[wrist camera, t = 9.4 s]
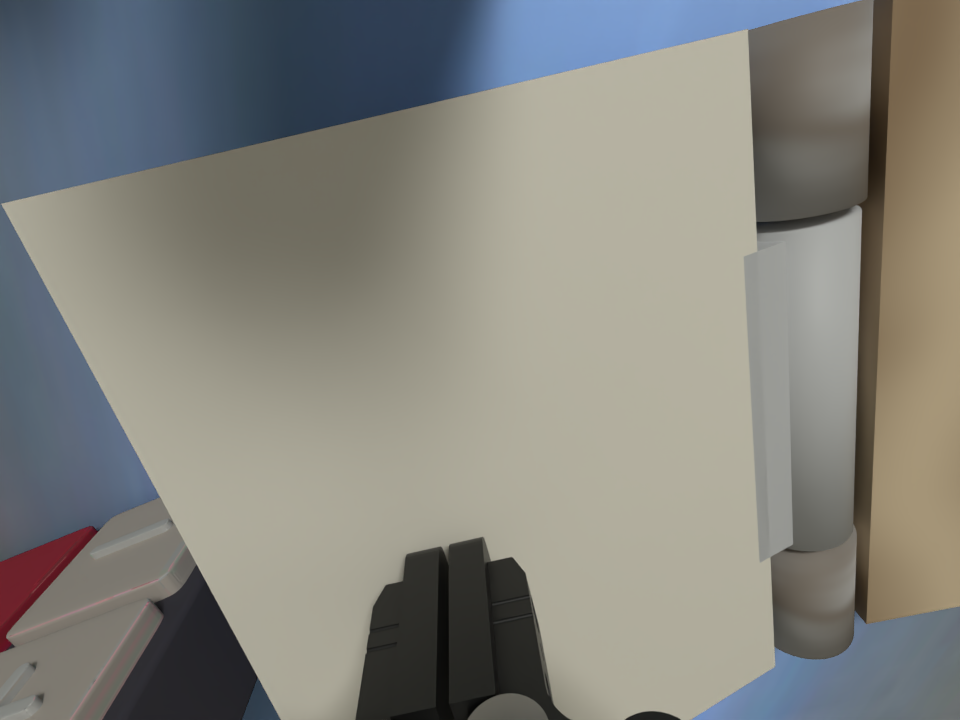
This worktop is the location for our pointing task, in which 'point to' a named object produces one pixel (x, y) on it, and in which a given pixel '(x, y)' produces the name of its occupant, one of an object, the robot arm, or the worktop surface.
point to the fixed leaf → (876, 292)
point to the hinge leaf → (484, 371)
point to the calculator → (117, 629)
